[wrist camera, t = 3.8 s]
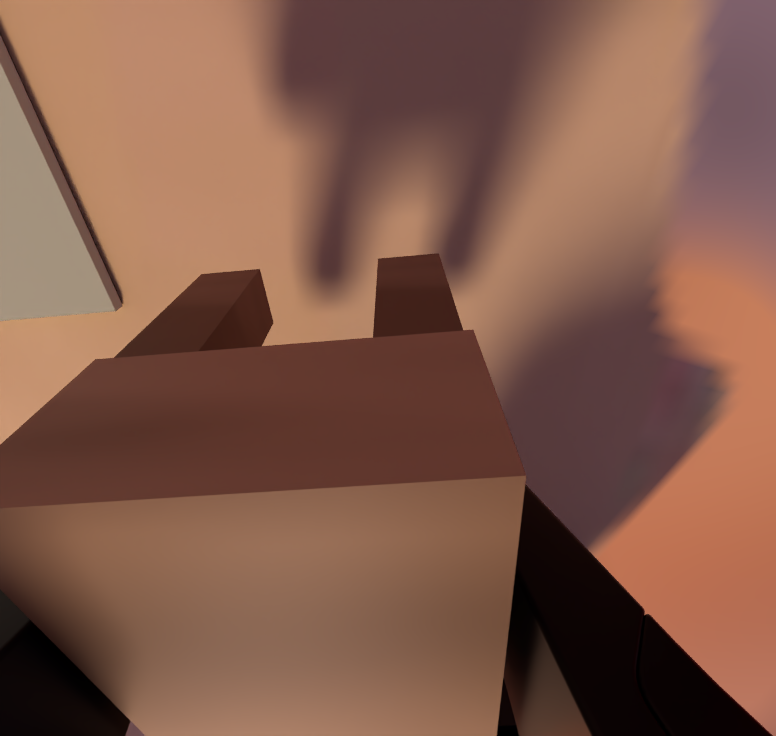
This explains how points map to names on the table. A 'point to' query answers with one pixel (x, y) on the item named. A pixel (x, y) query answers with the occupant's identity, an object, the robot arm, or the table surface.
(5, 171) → the sage mat
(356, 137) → the table surface
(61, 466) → the walnut stool
